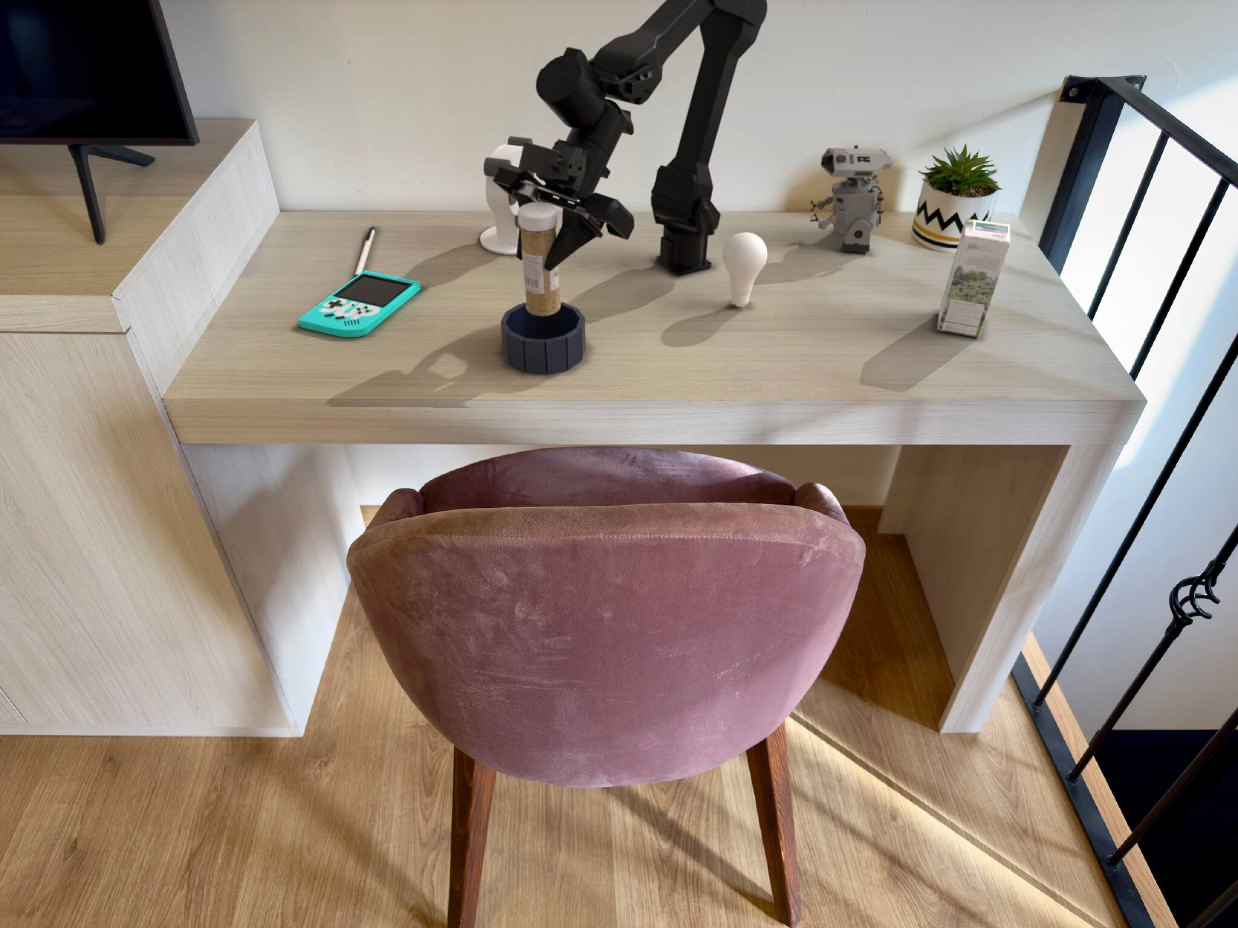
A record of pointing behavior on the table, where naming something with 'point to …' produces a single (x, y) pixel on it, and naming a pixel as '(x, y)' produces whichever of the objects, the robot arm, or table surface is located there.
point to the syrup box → (973, 277)
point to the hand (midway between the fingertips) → (532, 264)
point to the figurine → (854, 194)
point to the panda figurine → (503, 200)
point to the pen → (365, 252)
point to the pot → (543, 339)
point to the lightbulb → (743, 264)
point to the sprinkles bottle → (539, 257)
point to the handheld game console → (360, 305)
